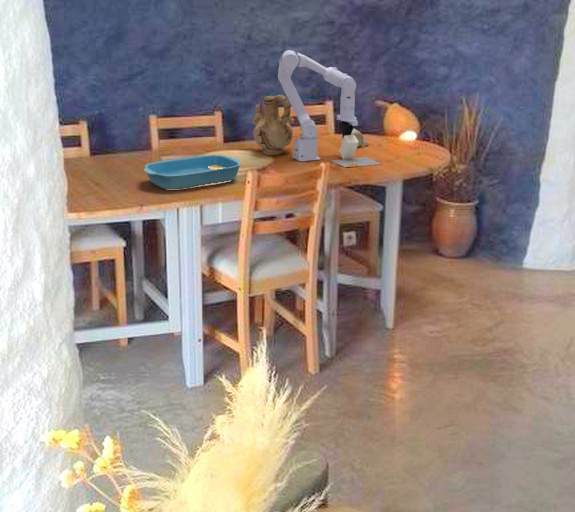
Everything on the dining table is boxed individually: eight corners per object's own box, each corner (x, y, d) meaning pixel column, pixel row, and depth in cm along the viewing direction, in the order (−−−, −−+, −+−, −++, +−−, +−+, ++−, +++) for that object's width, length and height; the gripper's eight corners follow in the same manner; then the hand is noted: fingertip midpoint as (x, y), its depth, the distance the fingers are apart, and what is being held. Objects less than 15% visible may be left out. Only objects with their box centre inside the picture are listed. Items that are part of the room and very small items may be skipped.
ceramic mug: (349, 148, 379) (349, 131, 376) (340, 145, 386) (341, 127, 383) (371, 147, 383) (372, 129, 380) (362, 143, 390) (363, 126, 387)
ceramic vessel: (294, 148, 379) (294, 89, 371) (296, 158, 361) (296, 97, 353) (251, 148, 379) (250, 89, 370) (251, 158, 361) (250, 97, 352)
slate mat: (345, 168, 346) (345, 167, 346) (331, 161, 357) (331, 160, 357) (381, 164, 352) (381, 163, 352) (366, 157, 363) (366, 157, 363)
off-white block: (343, 159, 360) (348, 142, 353) (338, 152, 362) (344, 135, 356) (352, 158, 361) (358, 141, 355) (348, 151, 364) (354, 134, 358)
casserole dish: (159, 196, 307) (158, 176, 305) (134, 182, 325) (133, 163, 323) (251, 182, 326) (251, 163, 323) (223, 170, 344) (222, 152, 341)
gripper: (364, 109, 350) (363, 143, 355) (347, 103, 363) (346, 136, 367) (349, 110, 348) (348, 144, 352) (332, 104, 360) (331, 137, 365)
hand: (346, 140), depth 360 cm, fingers closed
